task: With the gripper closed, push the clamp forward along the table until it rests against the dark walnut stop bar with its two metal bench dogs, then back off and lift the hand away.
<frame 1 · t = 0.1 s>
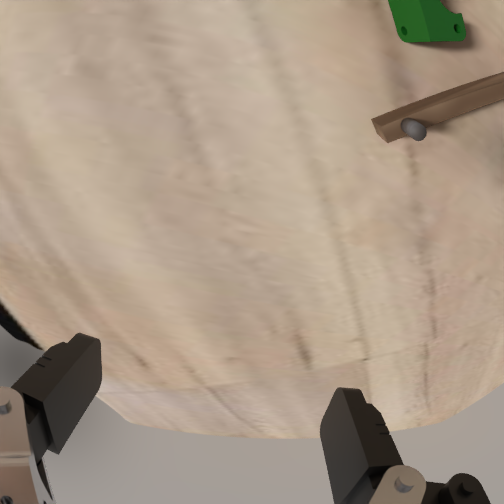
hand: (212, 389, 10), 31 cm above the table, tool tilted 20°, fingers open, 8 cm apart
stop bar: (455, 95, 29), on the table
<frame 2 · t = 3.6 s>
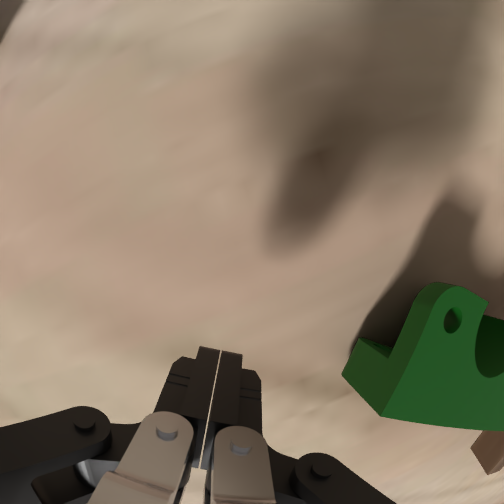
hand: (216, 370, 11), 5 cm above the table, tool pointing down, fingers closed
clamp: (433, 335, 17), on the table
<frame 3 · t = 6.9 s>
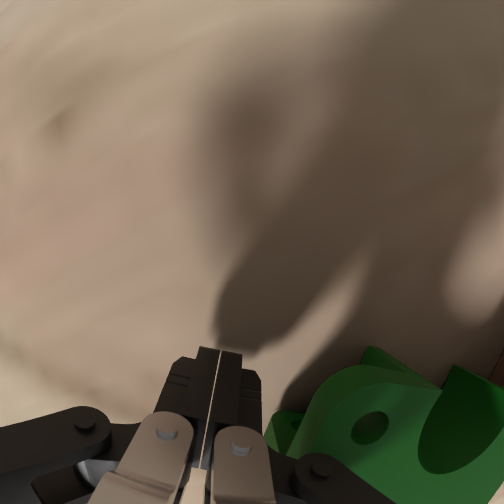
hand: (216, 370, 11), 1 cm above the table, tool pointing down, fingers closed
clamp: (390, 397, 13), on the table
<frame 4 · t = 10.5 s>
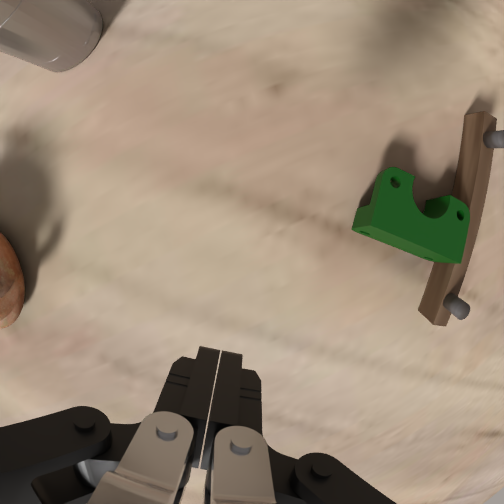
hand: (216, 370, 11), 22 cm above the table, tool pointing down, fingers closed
ceramic jug: (2, 271, 34), on the table
clamp: (401, 213, 31), on the table
stop bar: (454, 214, 31), on the table
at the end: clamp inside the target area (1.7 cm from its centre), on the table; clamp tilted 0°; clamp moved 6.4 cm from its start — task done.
